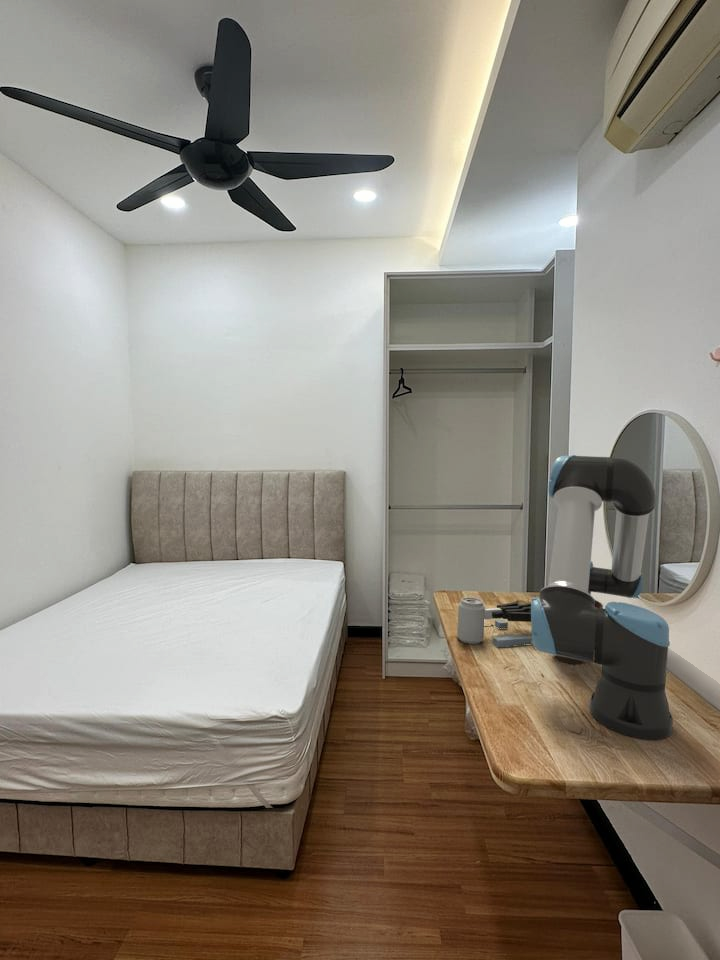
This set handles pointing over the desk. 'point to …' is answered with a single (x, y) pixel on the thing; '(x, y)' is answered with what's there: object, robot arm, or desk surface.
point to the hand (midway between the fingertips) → (480, 614)
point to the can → (471, 620)
